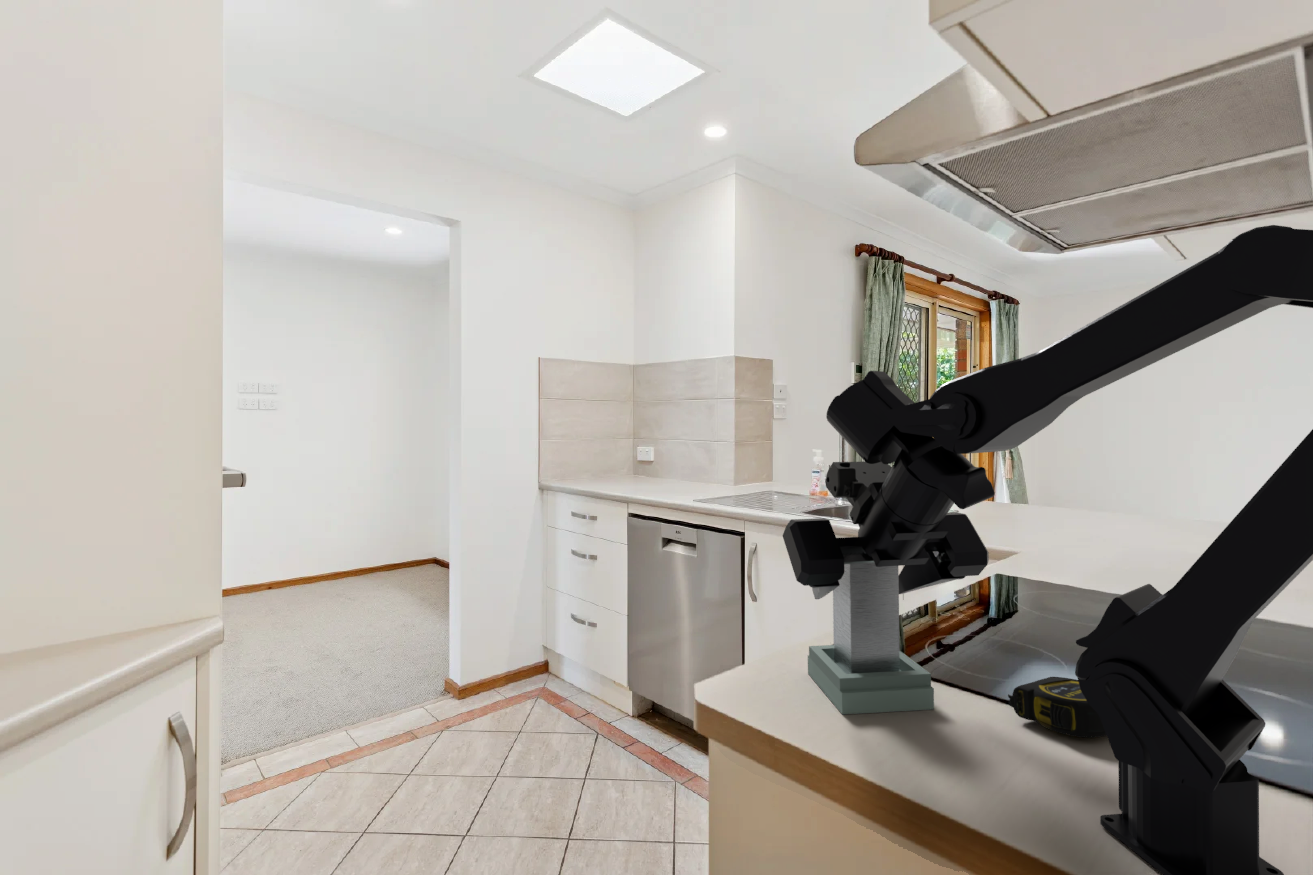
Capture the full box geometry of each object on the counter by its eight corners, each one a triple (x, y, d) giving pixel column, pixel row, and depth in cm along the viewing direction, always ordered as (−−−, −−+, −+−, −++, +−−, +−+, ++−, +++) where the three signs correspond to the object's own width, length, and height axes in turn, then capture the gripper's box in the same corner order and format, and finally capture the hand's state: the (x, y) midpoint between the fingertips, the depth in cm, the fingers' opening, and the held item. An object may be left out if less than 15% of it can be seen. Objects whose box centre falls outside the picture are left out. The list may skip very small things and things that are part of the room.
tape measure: (1057, 706, 61) (1056, 667, 61) (1135, 737, 54) (1134, 694, 54) (1008, 720, 58) (1007, 680, 58) (1084, 754, 52) (1083, 709, 52)
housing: (899, 677, 63) (898, 541, 62) (851, 680, 62) (849, 543, 62) (879, 661, 67) (877, 533, 67) (833, 663, 67) (832, 535, 66)
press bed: (933, 709, 60) (933, 675, 60) (842, 714, 59) (841, 680, 59) (887, 669, 70) (886, 640, 70) (807, 673, 69) (807, 644, 69)
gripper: (968, 432, 62) (908, 526, 73) (787, 436, 59) (754, 533, 70) (1027, 523, 55) (951, 613, 66) (823, 532, 52) (779, 625, 63)
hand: (856, 592), depth 66 cm, fingers open, 9 cm apart
